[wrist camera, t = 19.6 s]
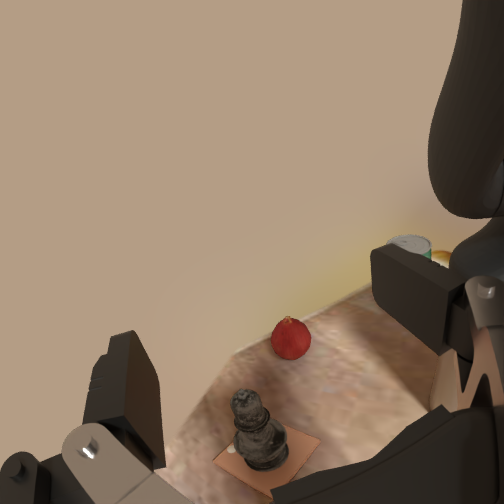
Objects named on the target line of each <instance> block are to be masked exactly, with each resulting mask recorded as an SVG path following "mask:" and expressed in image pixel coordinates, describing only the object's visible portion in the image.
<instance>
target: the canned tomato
mask: <svg viewBox="0 0 504 504" xmlns="http://www.w3.org/2000/svg"><path fill="white" fill-rule="evenodd" d="M389 243H393V244H395V245H397V246H399V247H401V248H403V249H405V250H407V251H409V252H413V253H417V254H421V255H423V256H425V257H427V258H429V259H431V246H432V244H431V242H430V241H429V240H428V239H427V238H425V237H423V236H418V235H401V236H397V237H394V238H392V239H390V240H389V241H388V242H387V243H386V245H387V244H389Z"/></svg>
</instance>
